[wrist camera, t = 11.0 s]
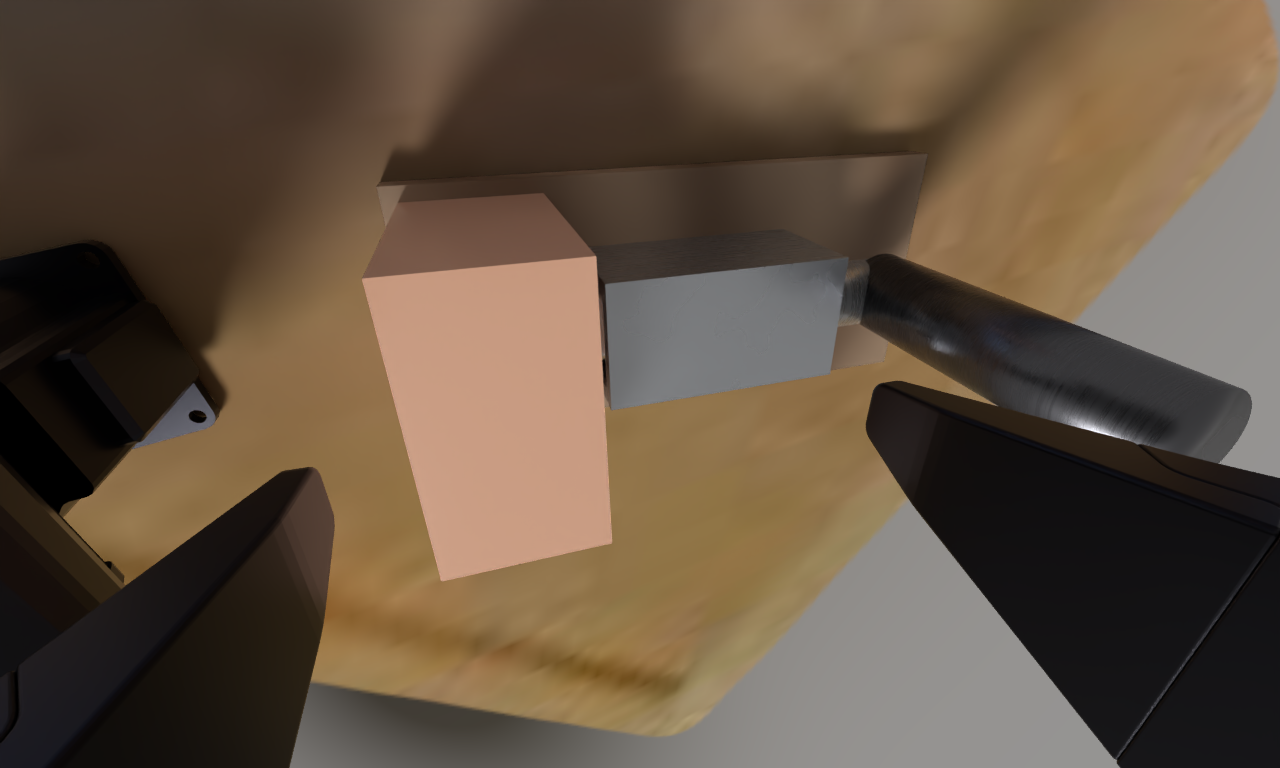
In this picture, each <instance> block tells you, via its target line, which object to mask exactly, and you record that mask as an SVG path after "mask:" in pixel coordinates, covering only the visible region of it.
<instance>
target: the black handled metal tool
mask: <svg viewBox="0 0 1280 768" xmlns="http://www.w3.org/2000/svg"><path fill="white" fill-rule="evenodd" d="M598 296H599V314H600V333H601V351H602V361H603V360H605V341H604V321H603V302H602V294H601V293H600V292H599V290H598ZM855 324H860V325H861V326H863V327H865V328H866V329H868V330H870V331H872V332H873V333H875V334H877V335H878V336H880V337H882V338H883V339H885V340H887V341H889V342H890V343H892V344H894V345H895V346H897V347H899V348H900V349H902V350H904V351H906V352H907V353H909V354H911V355H912V356H914V357H916V358H917V359H919V360H921V361H923V362H924V363H926V364H928V365H929V366H931V367H933V368H934V369H936V370H938V371H940V372H941V373H943V374H945V375H946V376H948V377H950V378H951V379H953V380H955V381H957V382H958V383H960V384H962V385H963V386H965V387H967V388H968V389H970V390H972V391H973V392H975V393H977V394H979V395H980V396H982V397H984V398H985V399H987V400H989V401H990V402H992V403H994V404H996V405H997V406H999V407H1002V408H1006V409H1010V410H1014V411H1018V412H1021V413H1025V414H1029V415H1033V416H1037V417H1040V418H1044V419H1048V420H1052V421H1056V422H1059V423H1063V424H1067V425H1071V426H1075V427H1078V428H1082V429H1086V430H1090V431H1094V432H1097V433H1101V434H1105V435H1109V436H1113V437H1117V438H1120V439H1124V440H1128V441H1132V442H1134V443H1136V444H1137V445H1138V444H1144V445H1147V446H1151V447H1155V448H1159V449H1163V450H1166V451H1170V452H1174V453H1178V454H1182V455H1186V456H1190V457H1194V458H1198V459H1202V460H1206V461H1210V462H1214V463H1219V462H1220V461H1221V460H1222V459H1223V458H1224V457H1225V456H1226V455H1227V454H1228V452H1229V451H1230V450H1231V449H1232V447H1233V446H1234V445H1235V443H1236V442H1237V441H1238V439H1239V437H1240V436H1241V434H1242V432H1243V431H1244V429H1245V427H1246V425H1247V422H1248V420H1249V417H1250V414H1251V409H1252V401H1251V397H1250V395H1249V394H1248V392H1247V391H1245V390H1243V389H1241V388H1238V387H1236V386H1233V385H1231V384H1228V383H1225V382H1223V381H1220V380H1218V379H1215V378H1212V377H1210V376H1207V375H1205V374H1202V373H1200V372H1197V371H1194V370H1192V369H1189V368H1186V367H1184V366H1181V365H1179V364H1176V363H1174V362H1171V361H1168V360H1166V359H1163V358H1161V357H1158V356H1155V355H1153V354H1150V353H1148V352H1145V351H1142V350H1140V349H1137V348H1134V347H1132V346H1129V345H1127V344H1124V343H1122V342H1119V341H1116V340H1114V339H1111V338H1108V337H1106V336H1103V335H1101V334H1098V333H1095V332H1093V331H1090V330H1088V329H1085V328H1082V327H1080V326H1077V325H1075V324H1072V323H1070V322H1067V321H1064V320H1062V319H1059V318H1057V317H1054V316H1051V315H1049V314H1046V313H1044V312H1041V311H1038V310H1036V309H1033V308H1031V307H1028V306H1025V305H1023V304H1020V303H1018V302H1015V301H1012V300H1010V299H1007V298H1005V297H1002V296H1000V295H997V294H994V293H992V292H989V291H987V290H984V289H981V288H979V287H976V286H974V285H971V284H968V283H966V282H963V281H961V280H958V279H955V278H953V277H950V276H948V275H945V274H942V273H940V272H937V271H935V270H932V269H929V268H927V267H924V266H922V265H919V264H916V263H914V262H911V261H909V260H906V259H903V258H901V257H898V256H896V255H893V254H887V253H886V254H878V255H875V256H873V257H871V258H869V259H861V260H852V261H848V266H847V272H846V278H845V284H844V291H843V297H842V303H841V309H840V315H839V321H838V327H841V326H848V325H855Z"/></svg>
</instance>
